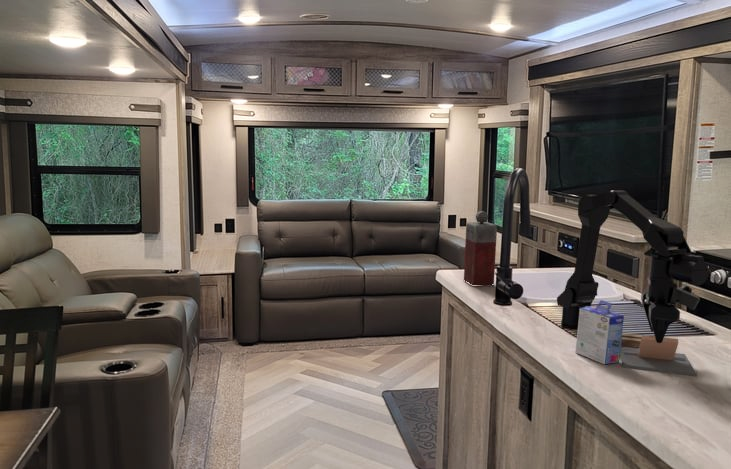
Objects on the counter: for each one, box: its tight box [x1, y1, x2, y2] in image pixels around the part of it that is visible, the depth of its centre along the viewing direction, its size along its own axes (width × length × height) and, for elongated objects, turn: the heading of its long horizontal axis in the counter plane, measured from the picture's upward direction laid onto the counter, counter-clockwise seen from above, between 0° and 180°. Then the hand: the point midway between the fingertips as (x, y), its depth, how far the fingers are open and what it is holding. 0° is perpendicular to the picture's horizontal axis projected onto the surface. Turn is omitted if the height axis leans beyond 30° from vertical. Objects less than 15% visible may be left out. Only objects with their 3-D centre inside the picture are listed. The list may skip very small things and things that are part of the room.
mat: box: [620, 346, 698, 377], centre depth 149 cm, size 16×14×1 cm
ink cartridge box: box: [575, 299, 625, 365], centre depth 150 cm, size 10×6×14 cm, turn 28°
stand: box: [621, 332, 643, 348], centre depth 163 cm, size 12×6×2 cm, turn 72°
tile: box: [638, 334, 679, 361], centre depth 148 cm, size 8×1×7 cm
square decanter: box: [463, 210, 498, 285], centre depth 229 cm, size 9×11×28 cm
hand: (656, 337), depth 150 cm, fingers open, 9 cm apart
